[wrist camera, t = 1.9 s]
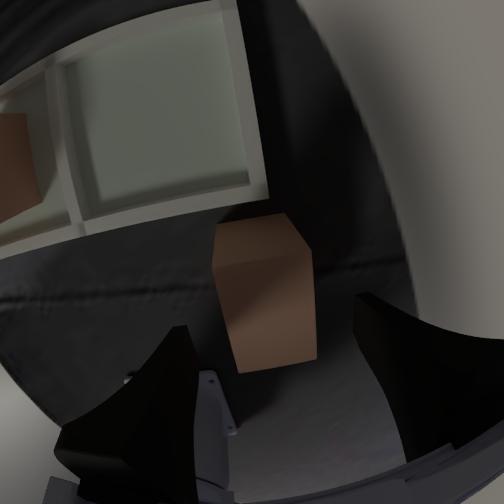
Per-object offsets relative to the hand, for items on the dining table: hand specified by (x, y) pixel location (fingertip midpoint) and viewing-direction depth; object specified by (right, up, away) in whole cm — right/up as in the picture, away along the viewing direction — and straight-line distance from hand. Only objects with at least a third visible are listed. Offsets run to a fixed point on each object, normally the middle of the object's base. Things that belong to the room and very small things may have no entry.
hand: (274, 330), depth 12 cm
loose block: (-1, +2, +6) cm, 7 cm away
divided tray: (-11, +10, +2) cm, 15 cm away
